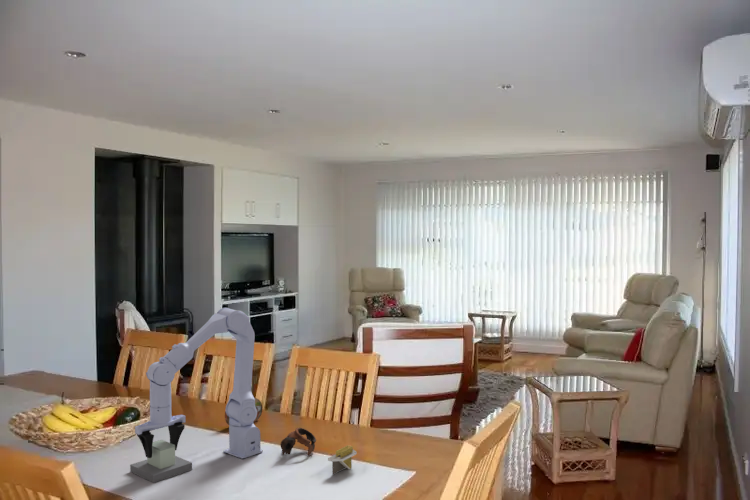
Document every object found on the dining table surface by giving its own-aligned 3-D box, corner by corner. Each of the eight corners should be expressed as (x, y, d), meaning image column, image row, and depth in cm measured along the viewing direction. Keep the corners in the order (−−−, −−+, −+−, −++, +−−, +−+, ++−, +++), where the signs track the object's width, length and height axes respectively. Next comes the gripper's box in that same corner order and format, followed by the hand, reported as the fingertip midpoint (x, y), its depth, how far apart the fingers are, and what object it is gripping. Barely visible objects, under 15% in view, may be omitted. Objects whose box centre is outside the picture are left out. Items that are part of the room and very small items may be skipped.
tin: (229, 430, 211) (228, 405, 211) (223, 428, 213) (223, 403, 213) (263, 419, 223) (263, 396, 223) (257, 417, 225) (257, 394, 225)
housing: (161, 458, 179) (161, 439, 179) (175, 464, 175) (175, 445, 174) (147, 462, 176) (147, 443, 176) (160, 469, 171) (160, 449, 171)
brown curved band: (291, 446, 196) (304, 424, 196) (311, 466, 191) (324, 443, 191) (267, 448, 186) (281, 425, 186) (287, 468, 181) (301, 444, 181)
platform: (379, 466, 179) (379, 444, 179) (341, 488, 164) (341, 463, 164) (345, 458, 186) (345, 436, 186) (306, 477, 171) (306, 454, 171)
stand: (192, 469, 176) (192, 462, 176) (153, 482, 167) (153, 475, 167) (168, 459, 184) (168, 453, 184) (130, 471, 174) (130, 464, 174)
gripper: (175, 397, 183) (176, 443, 183) (128, 408, 172) (129, 457, 172) (189, 401, 178) (190, 448, 179) (142, 413, 167) (143, 463, 168)
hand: (161, 453), depth 175 cm, fingers open, 7 cm apart
